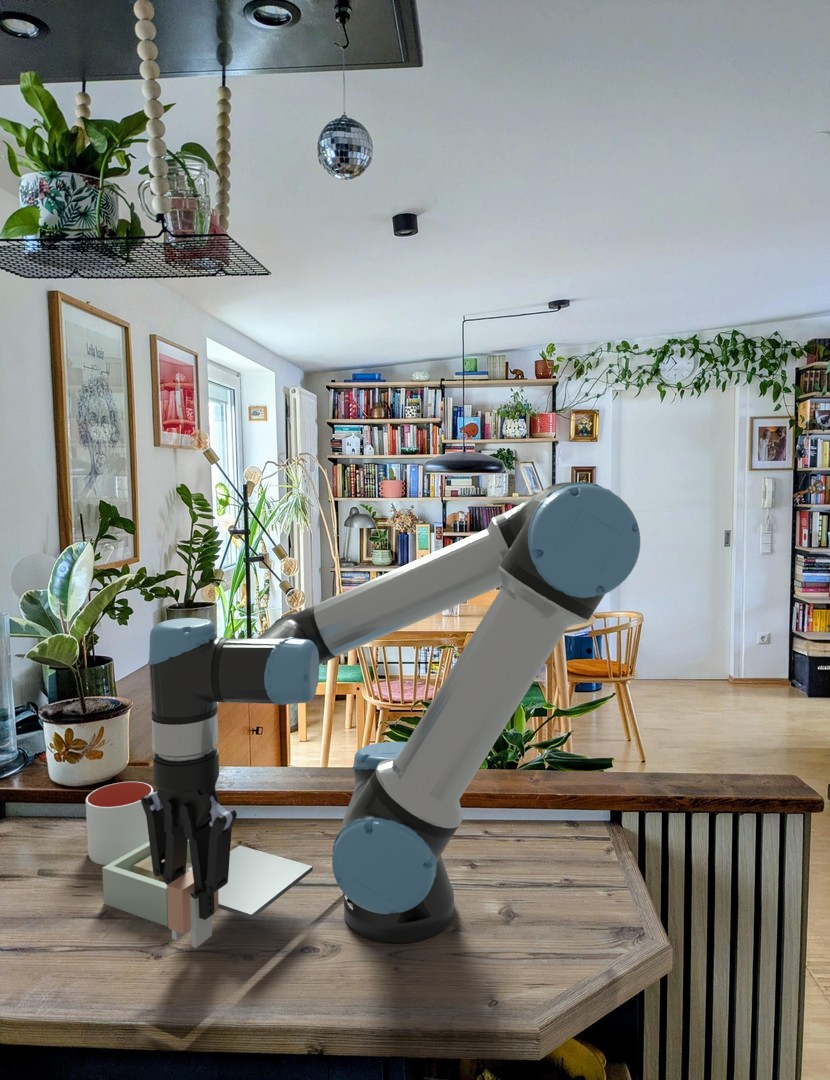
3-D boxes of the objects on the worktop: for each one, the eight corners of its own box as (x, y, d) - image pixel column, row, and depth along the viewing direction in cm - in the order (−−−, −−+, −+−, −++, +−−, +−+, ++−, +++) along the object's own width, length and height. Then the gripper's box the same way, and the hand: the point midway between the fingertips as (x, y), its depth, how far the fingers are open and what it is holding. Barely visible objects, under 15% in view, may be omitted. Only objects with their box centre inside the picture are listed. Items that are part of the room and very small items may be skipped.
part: (175, 885, 110) (174, 858, 110) (154, 898, 106) (153, 871, 106) (155, 878, 112) (154, 852, 111) (134, 891, 108) (133, 865, 108)
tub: (229, 887, 111) (228, 848, 110) (167, 932, 100) (165, 888, 99) (169, 868, 116) (167, 831, 116) (104, 908, 106) (102, 867, 105)
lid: (312, 876, 104) (312, 832, 103) (217, 953, 87) (216, 901, 86) (239, 854, 109) (238, 813, 109) (137, 923, 93) (135, 874, 92)
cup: (133, 873, 115) (130, 810, 114) (74, 867, 117) (71, 805, 116) (167, 842, 125) (165, 783, 124) (113, 837, 127) (110, 779, 126)
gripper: (257, 750, 90) (262, 938, 92) (162, 730, 97) (168, 905, 99) (213, 772, 83) (219, 974, 85) (114, 749, 90) (122, 936, 93)
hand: (192, 936), depth 92 cm, fingers closed on lid, 2 cm apart
